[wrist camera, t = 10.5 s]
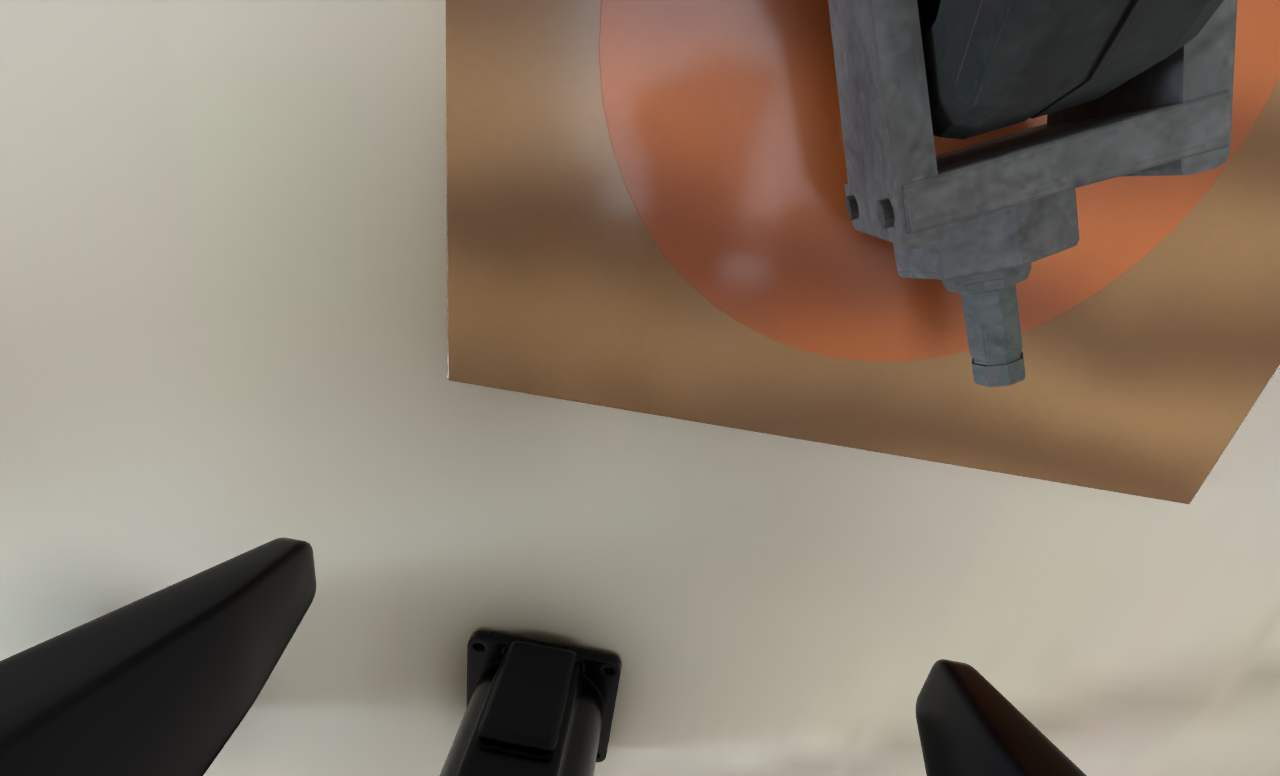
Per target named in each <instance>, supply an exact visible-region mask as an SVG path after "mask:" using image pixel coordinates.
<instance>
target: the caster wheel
mask: <svg viewBox="0 0 1280 776" xmlns="http://www.w3.org/2000/svg"><path fill="white" fill-rule="evenodd" d="M828 5H829V14H830V24H831V33H832V42H833V51H834V60H835V69H836V78H837V87H838V96H839V106H840V115H841V124H842V133H843V142H844V151H845V160H846V169H847V178H848V183H846V184H844V187H845V192H846V200H845V202H846V209H847V213H848V217H849V218H850V220H852V224H853V227H854V228H855V230H857V231H860V232H863V233H866V234H869V235H872V236H875V237H878V238H881V239H884V240H886V241H889V242H892V243H893V248H894V254H895V259H896V265H897V271H898V274H899V275H900V276H901V277H902V278H919V279H940V280H942V283H943V285H944V286H945V287H946V289H947V290H948V292H957V293H961V298H962V305H963V311H964V318H965V325H966V332H967V339H968V346H969V353H970V355H971V356H972V370H973V377H974V382H975V383H976V384H978V385H982V386H986V387H1001V386H1010V385H1013V384H1015V383H1018V382H1020V381H1023V380H1024V379H1025V366H1024V357H1023V352H1021V350H1022V348H1023V345H1022V335H1021V326H1020V318H1019V309H1018V301H1017V292H1016V284H1017V283H1019V282H1021V281H1024V280H1026V279H1027V278H1028V276H1029V273H1030V271H1031V268H1032V267H1031V263H1032V262H1035V261H1037V260H1040V259H1043V258H1045V257H1048V256H1051V255H1053V254H1056V253H1059V252H1062V251H1064V250H1067V249H1070V248H1072V247H1074V246H1076V245H1077V244H1078V241H1079V239H1080V238H1079V227H1078V215H1077V203H1076V191H1075V188H1079V187H1082V186H1086V185H1090V184H1093V183H1097V182H1100V181H1104V180H1108V179H1111V178H1115V177H1124V176H1172V175H1192V174H1196V173H1200V172H1203V171H1207V170H1211V169H1214V168H1217V167H1219V166H1220V165H1222V164H1224V163H1225V162H1226V161H1227V158H1228V156H1229V154H1230V144H1231V124H1232V103H1233V82H1234V61H1235V41H1236V20H1237V0H828ZM1047 114H1048V115H1047ZM1043 115H1047V124H1043V125H1039V126H1035V127H1031V128H1028V129H1024V130H1021V131H1017V132H1014V133H1010V134H1007V135H1004V136H1000V137H997V138H994V139H990V140H987V141H984V142H980V143H977V144H974V145H970V146H967V147H964V148H960V149H957V150H953V151H950V152H947V153H943V154H940V155H937V156H936V154H935V145H934V137H933V135H935V136H938V137H943V138H953V139H963V140H964V139H967V138H971V137H974V136H977V135H981V134H984V133H987V132H990V131H994V130H997V129H1000V128H1004V127H1007V126H1010V125H1014V124H1017V123H1020V122H1024V121H1026V120H1027V119H1029V118H1032V119H1033V118H1037V117H1040V116H1043Z"/></svg>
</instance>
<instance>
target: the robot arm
mask: <svg viewBox="0 0 1280 776" xmlns="http://www.w3.org/2000/svg"><path fill="white" fill-rule="evenodd" d="M315 591H316V578H315V568H314V558H313V550H312V547H311V545H310V544H309V543H307V542H305V541H301V540H295V539H290V538H278V539H275V540H273V541H270V542H268V543H266V544H264V545H261V546H259V547H257V548H255V549H252V550H250V551H248V552H246V553H243V554H241V555H239V556H237V557H234V558H232V559H230V560H228V561H225V562H223V563H221V564H219V565H216V566H214V567H212V568H210V569H207V570H205V571H203V572H201V573H198V574H196V575H194V576H192V577H189V578H187V579H185V580H183V581H180V582H178V583H176V584H174V585H171V586H169V587H167V588H165V589H162V590H160V591H158V592H156V593H153V594H151V595H149V596H146V597H144V598H142V599H140V600H137V601H135V602H133V603H131V604H128V605H126V606H124V607H122V608H119V609H117V610H115V611H113V612H110V613H108V614H106V615H104V616H101V617H99V618H97V619H95V620H92V621H90V622H88V623H86V624H83V625H81V626H79V627H77V628H74V629H72V630H70V631H68V632H65V633H63V634H61V635H59V636H56V637H54V638H52V639H50V640H47V641H45V642H43V643H40V644H38V645H36V646H34V647H31V648H29V649H27V650H25V651H22V652H20V653H18V654H16V655H13V656H11V657H9V658H7V659H4V660H2V661H0V776H203V775H204V773H205V772H206V771H207V769H208V768H209V766H210V765H211V764H212V762H213V761H214V759H215V758H216V756H217V755H218V754H219V752H220V751H221V749H222V748H223V747H224V745H225V744H226V742H227V741H228V739H229V738H230V737H231V735H232V734H233V732H234V731H235V730H236V728H237V727H238V725H239V724H240V722H241V721H242V720H243V718H244V717H245V715H246V714H247V712H248V711H249V709H250V708H251V706H252V705H253V703H254V702H255V700H256V698H257V697H258V695H259V693H260V692H261V690H262V688H263V687H264V685H265V683H266V682H267V680H268V678H269V676H270V675H271V673H272V671H273V669H274V668H275V666H276V664H277V662H278V661H279V659H280V657H281V655H282V654H283V652H284V650H285V648H286V647H287V645H288V643H289V641H290V640H291V638H292V636H293V634H294V633H295V631H296V629H297V627H298V626H299V624H300V622H301V620H302V619H303V617H304V615H305V613H306V612H307V610H308V608H309V606H310V605H311V603H312V601H313V598H314V595H315ZM620 671H621V661H620V659H619V658H618V657H616V656H614V655H611V654H605V653H600V652H594V651H589V650H583V649H578V648H572V647H567V646H561V645H556V644H550V643H545V642H540V641H534V640H529V639H523V638H518V637H512V636H507V635H501V634H496V633H490V632H485V631H477V632H474V633H473V634H472V635H471V638H470V640H469V642H468V652H467V710H466V712H465V715H464V717H463V720H462V722H461V724H460V727H459V729H458V732H457V734H456V737H455V739H454V742H453V744H452V747H451V749H450V752H449V754H448V756H447V759H446V761H445V764H444V766H443V769H442V771H441V774H440V776H593V774H594V768H595V763H596V762H601V761H603V760H605V758H606V753H607V747H608V741H609V736H610V730H611V724H612V718H613V712H614V707H615V701H616V695H617V689H618V683H619V677H620ZM916 719H917V724H918V730H919V736H920V741H921V747H922V752H923V758H924V763H925V769H926V774H927V776H1086V775H1085V774H1084V773H1083V772H1082V771H1081V770H1080V769H1079V768H1078V767H1077V766H1076V765H1075V764H1074V763H1073V762H1072V761H1071V760H1070V759H1069V758H1068V757H1066V756H1065V755H1064V754H1063V753H1062V752H1061V751H1060V750H1059V749H1058V748H1057V747H1056V746H1055V745H1054V744H1053V743H1052V742H1051V741H1050V740H1049V739H1048V738H1047V737H1046V736H1045V735H1043V734H1042V733H1041V732H1040V731H1039V730H1038V729H1037V728H1036V727H1035V726H1034V725H1033V724H1032V723H1031V722H1030V721H1029V720H1028V719H1027V718H1026V717H1025V716H1024V715H1023V714H1022V713H1020V712H1019V711H1018V710H1017V709H1016V708H1015V707H1014V706H1013V705H1012V704H1011V703H1010V702H1009V701H1008V700H1007V699H1006V698H1005V697H1004V696H1003V695H1002V694H1001V693H1000V692H998V691H997V690H996V689H995V688H994V687H993V686H992V685H991V684H990V683H989V682H988V681H987V680H986V679H985V678H984V677H983V676H982V675H981V674H980V673H979V672H978V671H977V670H975V669H974V668H973V667H972V666H970V665H968V664H965V663H961V662H955V661H950V660H944V659H942V660H938V661H937V662H936V663H935V664H934V665H933V667H932V669H931V671H930V673H929V675H928V677H927V679H926V681H925V683H924V685H923V688H922V690H921V692H920V694H919V696H918V698H917V702H916Z"/></svg>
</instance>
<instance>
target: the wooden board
mask: <svg viewBox="0 0 1280 776" xmlns="http://www.w3.org/2000/svg"><path fill="white" fill-rule="evenodd" d="M446 108H447V336H448V380H451V381H457V382H463V383H469V384H474V385H480V386H486V387H492V388H498V389H504V390H510V391H516V392H522V393H528V394H534V395H540V396H546V397H552V398H558V399H564V400H570V401H576V402H582V403H588V404H594V405H600V406H606V407H612V408H618V409H624V410H630V411H636V412H642V413H648V414H654V415H660V416H666V417H671V418H677V419H683V420H689V421H695V422H701V423H707V424H713V425H719V426H725V427H731V428H737V429H743V430H749V431H755V432H761V433H767V434H773V435H779V436H785V437H791V438H797V439H803V440H809V441H815V442H821V443H827V444H833V445H839V446H845V447H851V448H857V449H863V450H868V451H874V452H880V453H886V454H892V455H898V456H904V457H910V458H916V459H922V460H928V461H934V462H940V463H946V464H952V465H958V466H964V467H970V468H976V469H982V470H988V471H994V472H1000V473H1006V474H1012V475H1018V476H1024V477H1030V478H1036V479H1042V480H1048V481H1054V482H1060V483H1065V484H1071V485H1077V486H1083V487H1089V488H1095V489H1101V490H1107V491H1113V492H1119V493H1125V494H1131V495H1137V496H1143V497H1149V498H1155V499H1161V500H1167V501H1173V502H1179V503H1185V504H1190V502H1191V501H1192V499H1193V498H1194V496H1195V495H1196V493H1197V492H1198V490H1199V488H1200V487H1201V485H1202V484H1203V482H1204V481H1205V479H1206V478H1207V476H1208V475H1209V473H1210V471H1211V470H1212V468H1213V467H1214V465H1215V464H1216V462H1217V461H1218V459H1219V457H1220V456H1221V454H1222V453H1223V451H1224V450H1225V448H1226V447H1227V445H1228V443H1229V442H1230V440H1231V439H1232V437H1233V436H1234V434H1235V433H1236V431H1237V430H1238V428H1239V426H1240V425H1241V423H1242V422H1243V420H1244V419H1245V417H1246V416H1247V414H1248V412H1249V411H1250V409H1251V408H1252V406H1253V405H1254V403H1255V402H1256V400H1257V399H1258V397H1259V395H1260V394H1261V392H1262V391H1263V389H1264V388H1265V386H1266V385H1267V383H1268V381H1269V380H1270V378H1271V377H1272V375H1273V374H1274V372H1275V371H1276V369H1277V367H1278V366H1279V364H1280V0H1237V20H1236V41H1235V61H1234V82H1233V103H1232V124H1231V144H1230V154H1229V156H1228V158H1227V161H1226V162H1225V163H1224V164H1222V165H1220V166H1219V167H1217V168H1214V169H1211V170H1207V171H1203V172H1200V173H1196V174H1192V175H1172V176H1124V177H1115V178H1111V179H1108V180H1104V181H1100V182H1097V183H1093V184H1090V185H1086V186H1082V187H1079V188H1075V191H1076V203H1077V215H1078V227H1079V238H1080V239H1079V241H1078V244H1077V245H1076V246H1074V247H1072V248H1070V249H1067V250H1064V251H1062V252H1059V253H1056V254H1053V255H1051V256H1048V257H1045V258H1043V259H1040V260H1037V261H1035V262H1032V263H1031V267H1032V268H1031V271H1030V273H1029V276H1028V278H1027V279H1026V280H1024V281H1021V282H1019V283H1017V284H1016V292H1017V301H1018V309H1019V318H1020V326H1021V335H1022V345H1023V348H1022V350H1021V352H1023V357H1024V366H1025V379H1024V380H1023V381H1020V382H1018V383H1015V384H1013V385H1010V386H1001V387H986V386H982V385H978V384H976V383H975V382H974V377H973V370H972V356H971V355H970V353H969V346H968V339H967V332H966V325H965V318H964V311H963V305H962V298H961V293H957V292H948V290H947V289H946V287H945V286H944V285H943V283H942V280H940V279H919V278H902V277H901V276H900V275H899V274H898V271H897V265H896V259H895V254H894V248H893V243H892V242H889V241H886V240H884V239H881V238H878V237H875V236H872V235H869V234H866V233H863V232H860V231H857V230H855V228H854V227H853V224H852V220H850V218H849V217H848V213H847V209H846V202H845V200H846V192H845V187H844V184H846V183H848V178H847V169H846V160H845V151H844V142H843V133H842V124H841V115H840V106H839V96H838V87H837V78H836V69H835V60H834V51H833V42H832V33H831V24H830V14H829V5H828V0H446ZM1047 115H1048V114H1047ZM1047 115H1043V116H1040V117H1037V118H1033V119H1032V118H1029V119H1027V120H1026V121H1024V122H1020V123H1017V124H1014V125H1010V126H1007V127H1004V128H1000V129H997V130H994V131H990V132H987V133H984V134H981V135H977V136H974V137H971V138H967V139H964V140H963V139H953V138H943V137H938V136H935V135H933V137H934V145H935V154H936V156H937V155H940V154H943V153H947V152H950V151H953V150H957V149H960V148H964V147H967V146H970V145H974V144H977V143H980V142H984V141H987V140H990V139H994V138H997V137H1000V136H1004V135H1007V134H1010V133H1014V132H1017V131H1021V130H1024V129H1028V128H1031V127H1035V126H1039V125H1043V124H1047Z"/></svg>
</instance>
